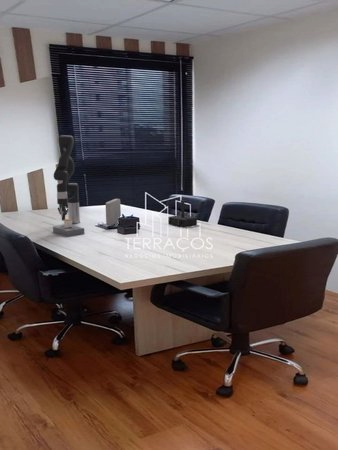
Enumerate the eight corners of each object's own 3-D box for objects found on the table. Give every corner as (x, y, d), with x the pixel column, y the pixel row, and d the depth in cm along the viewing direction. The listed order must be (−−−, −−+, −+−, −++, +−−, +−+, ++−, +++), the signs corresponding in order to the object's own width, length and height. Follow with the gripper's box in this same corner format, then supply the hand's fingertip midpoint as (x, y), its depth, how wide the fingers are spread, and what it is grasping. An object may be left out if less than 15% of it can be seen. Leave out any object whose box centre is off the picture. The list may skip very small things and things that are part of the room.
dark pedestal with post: (166, 224, 344) (166, 200, 340) (181, 222, 355) (181, 198, 351) (182, 228, 330) (182, 202, 326) (197, 225, 341) (197, 200, 337)
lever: (64, 227, 315) (63, 219, 314) (70, 226, 318) (69, 218, 317) (66, 227, 313) (65, 219, 312) (72, 226, 316) (71, 219, 315)
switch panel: (53, 231, 320) (52, 226, 319) (69, 229, 329) (69, 224, 328) (67, 236, 304) (67, 231, 303) (84, 233, 313) (84, 228, 312)
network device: (113, 228, 332) (112, 202, 328) (103, 227, 334) (102, 202, 330) (123, 222, 357) (122, 198, 353) (113, 221, 358) (112, 198, 354)
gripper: (71, 197, 314) (72, 220, 317) (62, 196, 324) (63, 218, 327) (61, 198, 309) (63, 222, 312) (53, 197, 319) (54, 220, 322)
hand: (63, 220), depth 319 cm, fingers closed
